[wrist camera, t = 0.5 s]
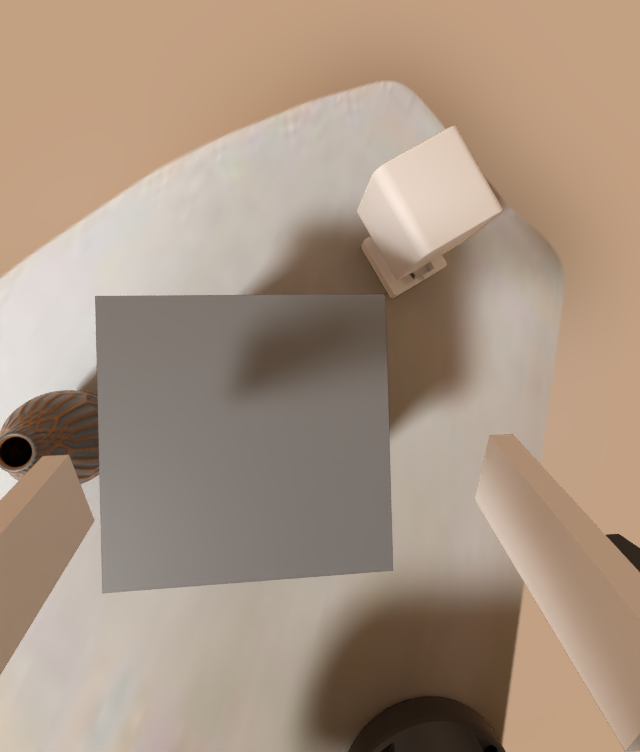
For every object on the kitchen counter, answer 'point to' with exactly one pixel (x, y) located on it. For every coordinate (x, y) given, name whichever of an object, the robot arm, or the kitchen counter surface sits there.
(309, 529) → the grey flat-topped box
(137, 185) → the kitchen counter surface
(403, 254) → the security camera
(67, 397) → the vase
